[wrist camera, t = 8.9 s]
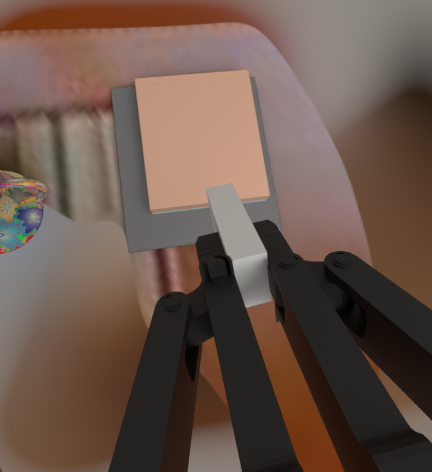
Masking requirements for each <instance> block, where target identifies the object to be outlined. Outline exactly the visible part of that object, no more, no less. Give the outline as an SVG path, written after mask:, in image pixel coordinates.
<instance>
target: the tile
mask: <svg viewBox="0 0 432 472" xmlns="http://www.w3.org/2000/svg"><path fill="white" fill-rule="evenodd" d="M135 86H136V94H137V103H138V111H139V120H140V128H141V137H142V145H143V154H144V162H145V171H146V179H147V188H148V196H149V205H150V211H151V213H152V214H160V213H169V212H177V211H185V210H193V209H201V208H209V204H208V199H207V194H206V188H211V187H215V186H219V185H224V184H228V183H232V184H233V186H234V188H235V190H236V192H237V194H238V196H239V198H240V200H241V202H242V204H243V203H251V202H259V201H266V200H267V198H268V197H269V196H270V193H269V187H268V181H267V175H266V170H265V164H264V158H263V152H262V146H261V141H260V135H259V129H258V123H257V118H256V112H255V106H254V100H253V94H252V89H251V83H250V77H249V71H248V70H237V71H224V72H212V73H199V74H187V75H174V76H162V77H149V78H137V79H135Z"/></svg>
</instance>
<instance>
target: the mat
mask: <svg viewBox="0 0 432 472" xmlns="http://www.w3.org/2000/svg"><path fill="white" fill-rule="evenodd" d="M250 83H251V89H252V94H253V100H254V106H255V112H256V118H257V123H258V129H259V135H260V141H261V146H262V152H263V158H264V164H265V170H266V175H267V181H268V187H269V193H270V196H269V197H268V198H267V200H266V201H259V202H251V203H243V206H244V208H245V210H246V212H247V214H248V216H249V218H250V220H251V222H252V223H255V222H259V221H263V220H267V219H268V220H270V221H272V222H273V223H275V224H276V226H277V227H278V229H279V231H280V232H282V230H281V224H280V218H279V213H278V207H277V201H276V196H275V190H274V184H273V178H272V173H271V167H270V161H269V156H268V150H267V144H266V139H265V133H264V127H263V122H262V116H261V110H260V104H259V99H258V93H257V87H256V82H255V77H250ZM111 93H112V102H113V112H114V121H115V131H116V140H117V150H118V159H119V169H120V178H121V187H122V197H123V206H124V216H125V225H126V235H127V244H128V252H129V253H132V252H139V251H147V250H154V249H162V248H169V247H177V246H184V245H192V244H195V243H196V241H197V238H198V236H203V235H207V234H211V233H215V232H214V228H213V223H212V218H211V213H210V208H201V209H193V210H185V211H177V212H169V213H160V214H152V213H151V211H150V205H149V196H148V188H147V179H146V171H145V162H144V154H143V145H142V137H141V128H140V120H139V111H138V103H137V94H136V86H135V87H122V88H111Z"/></svg>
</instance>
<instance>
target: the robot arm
mask: <svg viewBox="0 0 432 472" xmlns="http://www.w3.org/2000/svg"><path fill="white" fill-rule="evenodd" d="M206 194H207V199H208V204H209V208H210V213H211V218H212V223H213V228H214V232H215V233H211V234H207V235H203V236H198V238H197V241H196V243H195V244H196V249H197V254H198V259H199V270H200V274H201V277H202V282H201V284H200V285H199V287H198V288H197V289H196V290H194V291H193V292H191V293H189V294H187V295H186V294H184V293H182V292H171V293H168V294H166V295H164V296H162V297H161V298H160V299H159V300H158V302H157V304H156V306H155V310H154V313H153V317H152V320H151V324H150V327H149V331H148V334H147V338H146V341H145V345H144V348H143V352H142V355H141V359H140V362H139V366H138V369H137V373H136V377H135V380H134V383H133V387H132V390H131V394H130V397H129V401H128V404H127V408H126V411H125V415H124V418H123V422H122V426H121V429H120V433H119V436H118V440H117V443H116V447H115V450H114V454H113V457H112V461H111V464H110V468H109V471H108V472H187V471H188V463H189V453H190V445H191V437H192V429H193V420H194V411H195V403H196V394H197V386H198V377H199V369H200V360H201V352H202V343H203V342H205V341H206V340H208V339H210V338H211V337H213V336H214V339H215V343H216V348H217V353H218V358H219V363H220V368H221V372H222V377H223V382H224V387H225V392H226V397H227V401H228V406H229V411H230V416H231V421H232V425H233V430H234V435H235V440H236V445H237V449H238V454H239V459H240V464H241V469H242V472H304V471H303V469H302V467H301V465H300V464H299V462H298V460H297V457H296V455H295V452H294V449H293V446H292V443H291V440H290V437H289V434H288V431H287V428H286V425H285V422H284V419H283V416H282V413H281V410H280V408H279V405H278V402H277V399H276V396H275V393H274V390H273V387H272V384H271V381H270V378H269V375H268V372H267V369H266V366H265V363H264V360H263V357H262V354H261V351H260V348H259V345H258V342H257V339H256V337H255V334H254V331H253V328H252V325H251V322H250V319H249V316H248V313H247V310H246V307H250V306H254V305H258V304H262V303H266V302H270V301H272V299H271V294H272V297H273V299H274V302H275V313H276V322H279V320H280V322H281V324H282V327H283V329H284V331H285V334H286V336H287V338H288V341H289V343H290V345H291V348H292V350H293V352H294V355H295V357H296V359H297V362H298V364H299V366H300V369H301V371H302V373H303V376H304V378H305V380H306V383H307V385H308V387H309V390H310V392H311V394H312V397H313V399H314V401H315V404H316V406H317V408H318V411H319V413H320V415H321V418H322V420H323V422H324V425H325V427H326V429H327V432H328V434H329V436H330V439H331V441H332V443H333V446H334V448H335V450H336V453H337V455H338V457H339V460H340V462H341V464H342V467H343V469H344V471H345V472H432V443H431V442H430V441H429V440H428V439H427V438H426V437H425V436H424V435H423V434H420V433H417V432H415V431H414V430H413V429H411V428H410V426H409V425H408V424H407V422H406V421H405V419H404V417H403V416H402V414H401V413H400V411H399V409H398V408H397V406H396V405H395V403H394V401H393V400H392V398H391V397H390V395H389V394H388V392H387V391H386V389H385V387H384V386H383V384H382V383H381V381H380V379H379V378H378V376H377V375H376V373H375V372H374V370H373V368H372V367H371V365H370V364H369V362H368V361H367V359H366V357H365V356H364V354H363V353H362V351H361V350H360V348H361V349H362V350H363V351H364V352H365V353H366V354H367V355H368V357H369V358H370V359H371V360H372V361H373V362H374V363H375V364H376V365H377V366H378V367H379V368H380V369H381V370H382V371H383V372H384V373H385V374H386V375H387V376H388V377H389V378H390V379H391V380H392V381H393V382H394V383H395V384H396V385H397V386H398V387H399V388H400V389H401V390H402V391H403V392H404V393H405V394H406V395H407V396H408V397H409V398H410V399H411V400H412V401H413V402H414V403H415V404H416V405H417V406H418V407H419V408H420V409H421V410H422V411H423V412H424V413H425V414H426V415H427V416H428V417H429V418H430V419H431V420H432V310H431V309H430V308H428V307H427V306H425V305H424V304H422V303H421V302H419V301H418V300H417V299H415V298H414V297H413V296H411V295H410V294H409V293H407V292H406V291H404V290H403V289H402V288H400V287H399V286H397V285H396V284H395V283H393V282H392V281H390V280H389V279H388V278H386V277H385V276H384V275H382V274H381V273H379V272H378V271H377V270H375V269H374V268H372V267H371V266H370V265H368V264H367V263H365V262H364V261H363V260H361V259H360V258H358V257H357V256H356V255H354V254H352V253H349V252H345V251H336V252H332V253H330V254H328V255H327V256H326V258H325V259H324V262H312V261H305V260H303V258H302V257H300V256H299V255H297V254H295V253H293V252H292V250H291V248H290V247H289V245H288V243H287V242H286V240H285V239H284V237H283V236H282V234H281V232H280V231H279V229H278V227H277V226H276V224H275V223H273V222H272V221H270V220H268V219H267V220H263V221H259V222H255V223H252V222H251V220H250V218H249V216H248V214H247V212H246V210H245V208H244V206H243V204H242V202H241V200H240V198H239V196H238V194H237V192H236V190H235V188H234V186H233V184H232V183H228V184H224V185H219V186H215V187H211V188H206ZM359 347H360V348H359Z"/></svg>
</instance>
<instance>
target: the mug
mask: <svg viewBox="0 0 432 472" xmlns="http://www.w3.org/2000/svg"><path fill="white" fill-rule="evenodd" d="M37 189H38V190H41V192H39V191H38V190H37ZM47 195H48V186H47V185H46V184H45V183H44V182H42V181H39V180H35V179H28V178H26V177H24V176H22V175H20V174H18V173H15V172H11V171H4V170H0V254H2V253H7V252H11V251H13V250H16V249H18V248H20V247H21V246H23V245H24V244H26V243H27V242H28V241H29V240H30V239H31V238H32V237H33V236H34V234H35V233H36V232H37V230H38V228H39V226H40V224H41V221H42V217H43V202H42V200H43V199H44V198H46V196H47Z"/></svg>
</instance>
